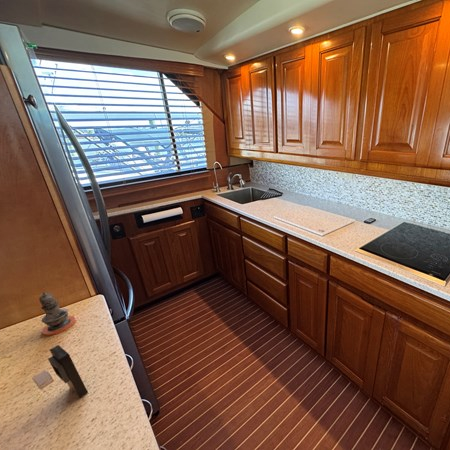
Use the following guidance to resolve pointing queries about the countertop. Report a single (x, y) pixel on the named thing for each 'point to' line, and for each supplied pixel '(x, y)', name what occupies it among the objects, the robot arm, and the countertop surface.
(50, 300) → the grey buddha statue
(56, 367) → the flush panel
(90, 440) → the countertop surface
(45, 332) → the coaster
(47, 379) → the flush button
